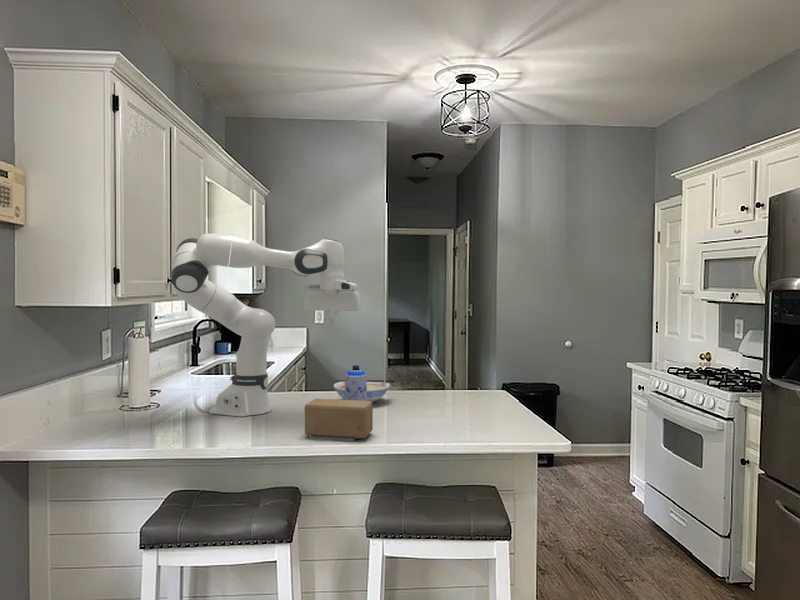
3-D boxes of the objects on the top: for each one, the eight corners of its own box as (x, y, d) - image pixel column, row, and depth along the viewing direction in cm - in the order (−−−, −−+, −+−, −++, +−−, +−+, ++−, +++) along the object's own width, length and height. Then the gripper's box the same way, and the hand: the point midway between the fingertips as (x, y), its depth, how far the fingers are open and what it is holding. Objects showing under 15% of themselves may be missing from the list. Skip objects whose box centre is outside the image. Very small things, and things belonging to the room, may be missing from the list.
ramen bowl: (324, 408, 227) (324, 387, 226) (337, 396, 249) (337, 377, 249) (388, 409, 224) (388, 388, 223) (395, 397, 246) (395, 378, 246)
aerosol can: (352, 419, 208) (353, 363, 208) (371, 422, 204) (371, 365, 204) (339, 424, 201) (339, 366, 201) (358, 426, 198) (358, 368, 197)
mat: (309, 439, 182) (309, 436, 182) (320, 430, 193) (320, 427, 193) (353, 441, 180) (353, 438, 180) (361, 432, 191) (361, 429, 191)
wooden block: (303, 435, 183) (365, 439, 179) (303, 404, 183) (365, 407, 179) (314, 427, 193) (373, 431, 189) (314, 397, 192) (373, 400, 189)
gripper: (301, 284, 207) (301, 323, 207) (357, 285, 203) (357, 324, 203) (307, 284, 213) (307, 322, 213) (361, 284, 209) (361, 323, 210)
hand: (332, 323), depth 208 cm, fingers closed
